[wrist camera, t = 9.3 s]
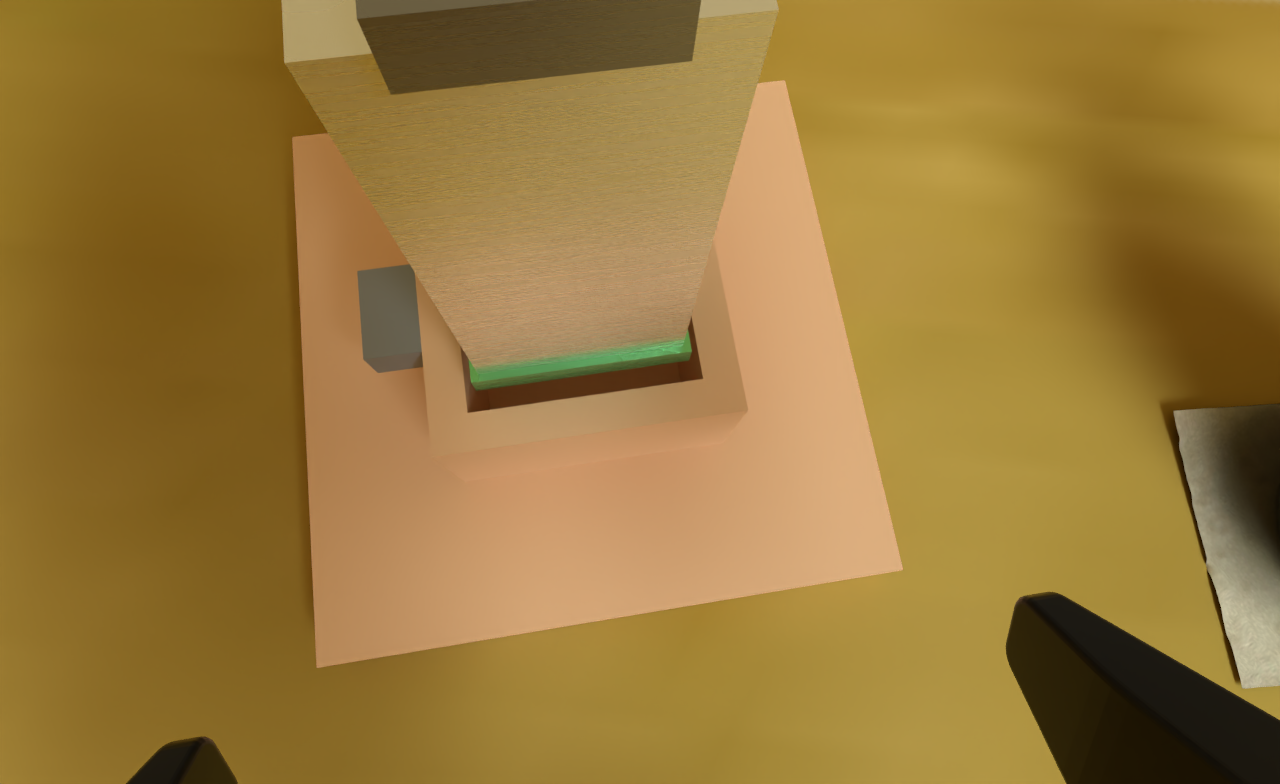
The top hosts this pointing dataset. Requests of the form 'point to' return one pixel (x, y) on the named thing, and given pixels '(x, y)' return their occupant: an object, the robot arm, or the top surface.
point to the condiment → (1239, 524)
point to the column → (541, 160)
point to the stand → (578, 435)
